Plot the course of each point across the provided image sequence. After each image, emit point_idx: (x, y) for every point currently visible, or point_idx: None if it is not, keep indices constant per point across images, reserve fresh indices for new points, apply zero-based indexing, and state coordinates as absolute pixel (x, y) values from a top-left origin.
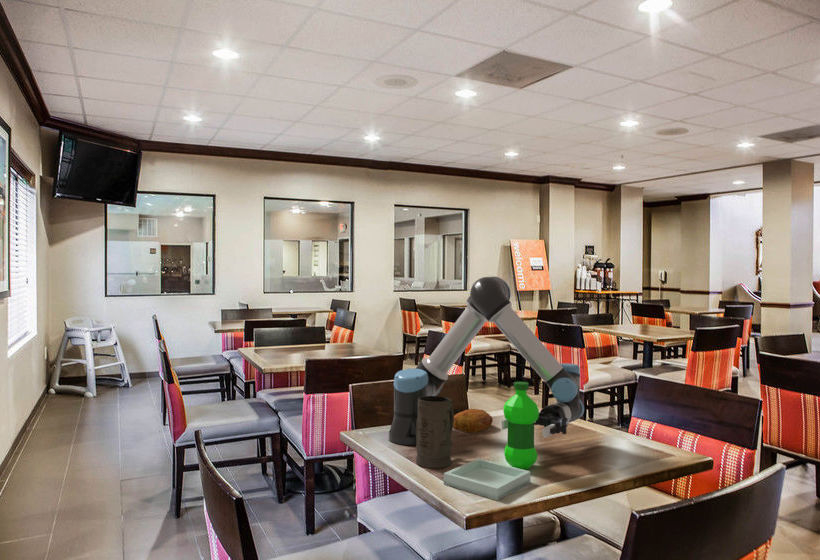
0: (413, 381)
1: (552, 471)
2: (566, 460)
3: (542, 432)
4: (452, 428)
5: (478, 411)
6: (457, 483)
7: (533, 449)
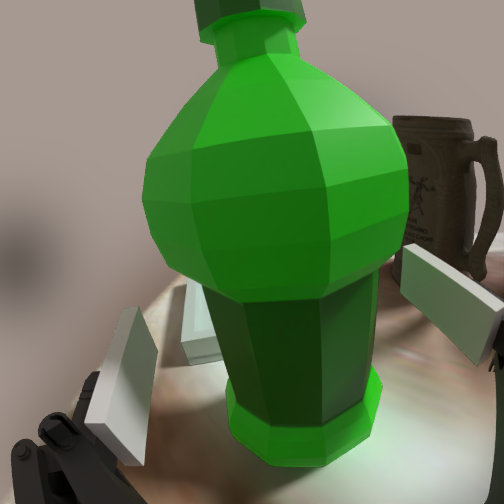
0: None
1: (184, 481)
2: None
3: (146, 327)
4: (485, 232)
5: None
6: None
7: (232, 396)
